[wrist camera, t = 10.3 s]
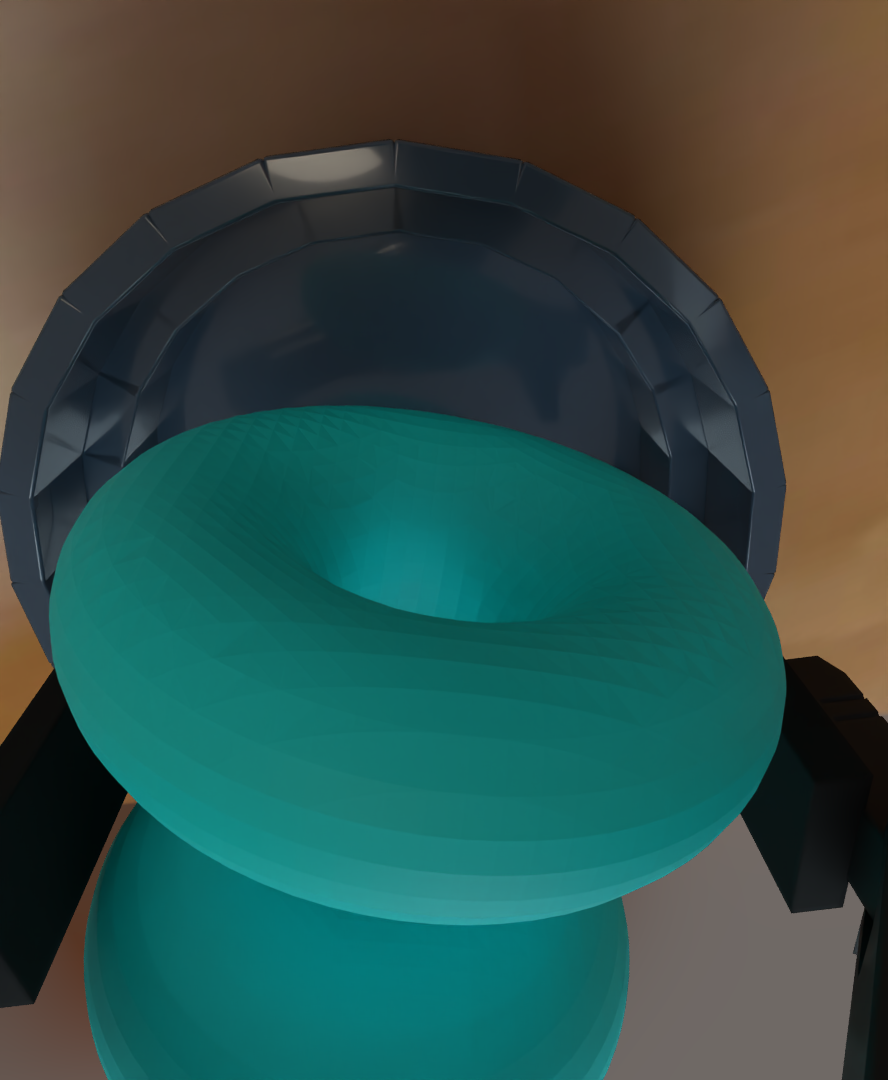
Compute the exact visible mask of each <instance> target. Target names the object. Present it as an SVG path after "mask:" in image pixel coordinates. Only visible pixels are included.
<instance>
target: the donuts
mask: <svg viewBox="0 0 888 1080" xmlns="http://www.w3.org/2000/svg"><path fill="white" fill-rule="evenodd" d="M49 625H50V638H51V648H52V657H53V662H54V666H55V670H56V674H57V677H58V681H59V684H60V686H61V688H62V691H63V693H64V696H65V698H66V701H67V703H68V705H69V708H70V710H71V713H72V715H73V717H74V719H75V721H76V723H77V726H78V728H79V730H80V731H81V733H82V735H83V736H84V738H85V740H86V741H87V743H88V745H89V746H90V748H91V749H92V751H93V752H94V754H95V755H96V756H97V757H98V759H99V760H100V761H101V763H102V764H103V765H104V766H105V768H106V769H107V770H108V771H109V773H110V774H111V775H112V776H113V777H114V778H115V779H116V780H117V781H118V782H119V783H120V784H121V785H122V787H123V788H124V789H125V790H126V791H127V792H128V793H129V794H130V795H131V796H132V797H133V798H134V799H135V800H136V801H137V804H136V805H135V807H134V808H133V809H132V811H131V812H130V814H129V816H128V817H127V819H126V820H125V822H124V823H123V825H122V826H121V828H120V830H119V832H118V834H117V835H116V837H115V839H114V841H113V843H112V845H111V847H110V849H109V851H108V853H107V856H106V858H105V861H104V863H103V866H102V869H101V871H100V874H99V878H98V881H97V884H96V888H95V891H94V895H93V899H92V903H91V908H90V912H89V916H88V922H87V928H86V936H85V948H84V982H85V991H86V999H87V1008H88V1015H89V1020H90V1025H91V1030H92V1035H93V1039H94V1042H95V1046H96V1049H97V1052H98V1056H99V1059H100V1062H101V1064H102V1067H103V1069H104V1071H105V1074H106V1076H107V1078H108V1080H603V1079H604V1077H605V1075H606V1073H607V1071H608V1068H609V1065H610V1063H611V1060H612V1058H613V1055H614V1052H615V1049H616V1046H617V1043H618V1039H619V1035H620V1032H621V1027H622V1022H623V1018H624V1012H625V1007H626V999H627V991H628V981H629V939H628V931H627V923H626V918H625V912H624V907H623V903H622V898H621V896H623V895H626V894H628V893H630V892H632V891H634V890H637V889H639V888H641V887H643V886H645V885H647V884H649V883H651V882H654V881H656V880H658V879H660V878H662V877H664V876H665V875H667V874H669V873H671V872H672V871H674V870H676V869H677V868H679V867H680V866H682V865H684V864H685V863H687V862H688V861H690V860H691V859H692V858H694V857H695V856H696V855H697V854H699V853H700V852H701V851H702V850H703V849H705V848H706V847H707V846H708V845H709V844H710V843H711V842H712V841H713V840H714V839H715V838H716V837H717V836H718V835H719V834H720V833H721V832H722V831H723V830H724V829H725V828H726V827H727V826H728V825H729V824H730V823H731V822H732V821H733V820H734V819H735V818H736V817H737V816H738V815H739V814H740V813H741V812H742V810H743V809H744V808H745V806H746V805H747V803H748V802H749V800H750V799H751V798H752V796H753V795H754V793H755V792H756V790H757V788H758V786H759V784H760V782H761V780H762V778H763V776H764V774H765V772H766V770H767V768H768V766H769V764H770V762H771V760H772V757H773V755H774V753H775V751H776V748H777V745H778V741H779V737H780V734H781V728H782V721H783V714H784V707H785V699H786V674H785V666H784V661H783V655H782V649H781V644H780V639H779V635H778V632H777V628H776V625H775V623H774V620H773V618H772V616H771V613H770V611H769V609H768V607H767V605H766V603H765V601H764V599H763V597H762V596H761V594H760V592H759V590H758V588H757V587H756V585H755V583H754V581H753V580H752V578H751V577H750V575H749V574H748V572H747V571H746V569H745V568H744V566H743V565H742V564H741V562H740V561H739V560H738V559H737V557H736V556H735V555H734V554H733V552H732V551H731V550H730V549H729V548H728V547H727V546H726V545H725V544H724V543H723V542H722V541H721V540H720V539H719V538H718V537H717V536H716V535H715V534H714V533H713V532H711V531H710V530H709V529H708V528H707V527H706V526H705V525H703V524H702V523H701V522H700V521H699V520H698V519H697V518H695V517H694V516H693V515H692V514H691V513H689V512H688V511H687V510H685V509H684V508H683V507H681V506H680V505H678V504H677V503H675V502H674V501H672V500H671V499H670V498H668V497H667V496H665V495H664V494H662V493H661V492H659V491H657V490H656V489H654V488H652V487H650V486H649V485H647V484H645V483H644V482H642V481H640V480H638V479H637V478H635V477H633V476H631V475H630V474H628V473H626V472H624V471H621V470H619V469H617V468H615V467H613V466H611V465H609V464H607V463H605V462H603V461H600V460H598V459H596V458H593V457H591V456H589V455H587V454H584V453H582V452H579V451H576V450H573V449H571V448H568V447H565V446H563V445H560V444H557V443H554V442H552V441H549V440H546V439H543V438H540V437H537V436H533V435H530V434H527V433H523V432H520V431H516V430H513V429H510V428H506V427H502V426H497V425H493V424H489V423H484V422H479V421H475V420H470V419H465V418H460V417H456V416H450V415H444V414H438V413H432V412H425V411H417V410H407V409H396V408H386V407H373V406H350V405H345V406H306V407H296V408H282V409H276V410H270V411H260V412H255V413H250V414H245V415H238V416H234V417H231V418H227V419H224V420H220V421H215V422H211V423H208V424H205V425H202V426H199V427H197V428H194V429H191V430H188V431H185V432H183V433H181V434H178V435H176V436H174V437H172V438H170V439H168V440H166V441H164V442H162V443H160V444H158V445H156V446H154V447H152V448H151V449H149V450H147V451H146V452H144V453H142V454H141V455H140V456H138V457H137V458H136V459H134V460H133V461H132V462H131V463H129V464H128V465H127V466H126V467H124V468H123V469H122V470H121V471H119V472H118V473H117V474H116V475H114V476H113V477H112V478H111V479H109V480H108V481H107V482H106V483H105V484H104V485H103V486H102V487H101V488H100V489H99V490H98V491H97V492H96V493H95V495H94V496H93V497H92V498H91V499H90V501H89V502H88V503H87V505H86V506H85V508H84V510H83V511H82V513H81V514H80V516H79V517H78V519H77V521H76V522H75V524H74V526H73V527H72V529H71V531H70V532H69V534H68V536H67V538H66V540H65V542H64V544H63V547H62V550H61V553H60V556H59V559H58V562H57V566H56V570H55V575H54V579H53V583H52V588H51V594H50V601H49Z"/></svg>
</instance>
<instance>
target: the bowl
mask: <svg viewBox="0 0 888 1080" xmlns="http://www.w3.org/2000/svg"><path fill="white" fill-rule="evenodd" d="M11 391H12V392H11V393H10V398H9V405H8V412H7V418H6V425H5V432H4V438H3V445H2V452H1V458H0V519H1V525H2V531H3V537H4V543H5V549H6V555H7V561H8V567H9V573H10V579H11V581H12V584H11V585H12V587H13V589H14V591H15V593H16V595H17V597H18V599H19V601H20V604H21V606H22V608H23V610H24V612H25V614H26V616H27V618H28V620H29V622H30V624H31V626H32V628H33V630H34V632H35V634H36V636H37V638H38V641H39V643H40V645H41V647H42V649H43V651H44V653H45V655H46V657H47V659H48V661H49V663H51V665H52V666H53V668H55V666H54V662H53V657H52V648H51V638H50V625H49V601H50V594H51V588H52V583H53V579H54V575H55V570H56V566H57V562H58V559H59V556H60V553H61V550H62V547H63V544H64V542H65V540H66V538H67V536H68V534H69V532H70V531H71V529H72V527H73V526H74V524H75V522H76V521H77V519H78V517H79V516H80V514H81V513H82V511H83V510H84V508H85V506H86V505H87V503H88V502H89V501H90V499H91V498H92V497H93V496H94V495H95V493H96V492H97V491H98V490H99V489H100V488H101V487H102V486H103V485H104V484H105V483H106V482H107V481H108V480H109V479H111V478H112V477H113V476H114V475H116V474H117V473H118V472H119V471H121V470H122V469H123V468H124V467H126V466H127V465H128V464H129V463H131V462H132V461H133V460H134V459H136V458H137V457H138V456H140V455H141V454H142V453H144V452H146V451H147V450H149V449H151V448H152V447H154V446H156V445H158V444H160V443H162V442H164V441H166V440H168V439H170V438H172V437H174V436H176V435H178V434H181V433H183V432H185V431H188V430H191V429H194V428H197V427H199V426H202V425H205V424H208V423H211V422H215V421H220V420H224V419H227V418H231V417H234V416H238V415H245V414H250V413H255V412H260V411H270V410H276V409H282V408H296V407H306V406H345V405H350V406H373V407H386V408H396V409H407V410H417V411H425V412H432V413H438V414H444V415H450V416H456V417H460V418H465V419H470V420H475V421H479V422H484V423H489V424H493V425H497V426H502V427H506V428H510V429H513V430H516V431H520V432H523V433H527V434H530V435H533V436H537V437H540V438H543V439H546V440H549V441H552V442H554V443H557V444H560V445H563V446H565V447H568V448H571V449H573V450H576V451H579V452H582V453H584V454H587V455H589V456H591V457H593V458H596V459H598V460H600V461H603V462H605V463H607V464H609V465H611V466H613V467H615V468H617V469H619V470H621V471H624V472H626V473H628V474H630V475H631V476H633V477H635V478H637V479H638V480H640V481H642V482H644V483H645V484H647V485H649V486H650V487H652V488H654V489H656V490H657V491H659V492H661V493H662V494H664V495H665V496H667V497H668V498H670V499H671V500H672V501H674V502H675V503H677V504H678V505H680V506H681V507H683V508H684V509H685V510H687V511H688V512H689V513H691V514H692V515H693V516H694V517H695V518H697V519H698V520H699V521H700V522H701V523H702V524H703V525H705V526H706V527H707V528H708V529H709V530H710V531H711V532H713V533H714V534H715V535H716V536H717V537H718V538H719V539H720V540H721V541H722V542H723V543H724V544H725V545H726V546H727V547H728V548H729V549H730V550H731V551H732V552H733V554H734V555H735V556H736V557H737V559H738V560H739V561H740V562H741V564H742V565H743V566H744V568H745V569H746V571H747V572H748V574H749V575H750V577H751V578H752V580H753V581H754V583H755V585H756V587H757V588H758V590H759V592H760V594H761V596H762V597H763V599H765V596H766V594H767V591H768V589H769V587H770V584H771V582H772V579H773V577H774V573H775V572H776V566H777V558H778V550H779V541H780V533H781V525H782V517H783V509H784V501H785V492H786V479H785V473H784V468H783V462H782V457H781V451H780V445H779V440H778V434H777V429H776V423H775V418H774V412H773V406H772V401H771V395H770V391H769V390H768V386H767V384H766V382H765V380H764V379H763V377H762V375H761V373H760V371H759V369H758V367H757V365H756V364H755V362H754V360H753V358H752V356H751V354H750V352H749V350H748V349H747V347H746V345H745V343H744V341H743V339H742V337H741V335H740V333H739V332H738V330H737V328H736V326H735V324H734V322H733V320H732V318H731V317H730V315H729V313H728V311H727V309H726V307H725V305H724V303H723V302H722V300H721V299H720V298H718V295H717V293H715V292H714V291H713V290H712V289H711V288H710V287H709V286H708V285H707V284H706V283H705V282H704V281H703V280H702V279H701V278H700V277H699V276H698V275H697V274H696V273H695V272H694V271H693V270H692V269H691V268H690V267H689V266H688V265H687V264H686V263H685V262H683V261H682V260H681V259H680V258H679V257H678V256H677V255H676V254H675V253H674V252H673V251H672V250H671V249H670V248H669V247H668V246H667V245H666V244H665V243H664V242H663V241H662V240H661V239H660V238H659V237H658V236H657V235H656V234H655V233H654V232H653V231H651V230H650V229H649V228H648V227H647V226H646V225H645V224H644V223H643V222H642V221H641V220H640V219H638V218H635V216H634V215H633V214H631V213H629V212H627V211H625V210H623V209H621V208H619V207H617V206H615V205H613V204H611V203H609V202H607V201H605V200H603V199H601V198H599V197H597V196H595V195H593V194H591V193H589V192H587V191H585V190H583V189H581V188H579V187H577V186H575V185H573V184H571V183H569V182H567V181H565V180H563V179H561V178H559V177H557V176H555V175H553V174H551V173H549V172H547V171H545V170H543V169H541V168H539V167H537V166H535V165H533V164H531V163H529V162H523V161H522V160H520V159H515V158H509V157H503V156H497V155H491V154H485V153H479V152H473V151H467V150H460V149H454V148H448V147H442V146H436V145H430V144H424V143H418V142H412V141H406V140H400V139H398V140H395V142H394V141H393V140H390V139H387V140H380V141H372V142H365V143H358V144H350V145H343V146H336V147H329V148H321V149H314V150H307V151H299V152H292V153H285V154H278V155H270V156H266V157H264V159H256V160H254V161H252V162H250V163H248V164H246V165H243V166H241V167H239V168H237V169H235V170H233V171H231V172H229V173H227V174H225V175H222V176H220V177H218V178H216V179H214V180H212V181H210V182H208V183H206V184H203V185H201V186H199V187H197V188H195V189H193V190H191V191H189V192H187V193H185V194H182V195H180V196H178V197H176V198H174V199H172V200H170V201H168V202H166V203H163V204H161V205H159V206H157V207H155V208H153V209H151V210H150V211H149V213H146V214H143V215H142V216H141V217H140V218H139V219H138V220H137V221H136V222H135V223H134V224H133V225H132V226H131V227H130V228H129V229H128V230H127V231H125V232H124V233H123V234H122V235H121V236H120V237H119V238H118V239H117V240H116V241H115V242H114V243H113V244H112V245H111V246H110V247H109V248H108V249H107V250H106V251H105V252H104V253H102V254H101V255H100V256H99V257H98V258H97V259H96V260H95V261H94V262H93V263H92V264H91V265H90V266H89V267H88V268H87V269H86V270H85V271H84V272H83V273H82V274H80V275H79V276H78V277H77V278H76V279H75V280H74V281H73V282H72V283H71V284H70V285H69V286H68V287H67V288H66V289H65V290H64V291H63V293H62V295H61V296H59V297H58V299H57V301H56V303H55V305H54V307H53V309H52V311H51V313H50V315H49V317H48V319H47V321H46V322H45V324H44V326H43V328H42V330H41V332H40V334H39V336H38V338H37V340H36V342H35V344H34V346H33V348H32V350H31V351H30V353H29V355H28V357H27V359H26V361H25V363H24V365H23V367H22V369H21V371H20V373H19V375H18V377H17V378H16V380H15V382H14V384H13V386H12V390H11Z"/></svg>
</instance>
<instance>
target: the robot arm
mask: <svg viewBox="0 0 888 1080" xmlns="http://www.w3.org/2000/svg"><path fill="white" fill-rule="evenodd" d="M783 661H784V666H785V674H786V699H785V707H784V714H783V721H782V728H781V734H780V737H779V741H778V745H777V748H776V751H775V753H774V755H773V757H772V760H771V762H770V764H769V766H768V768H767V770H766V772H765V774H764V776H763V778H762V780H761V782H760V784H759V786H758V788H757V790H756V792H755V793H754V795H753V796H752V798H751V799H750V800H749V802H748V803H747V805H746V806H745V808H744V809H743V810H742V812H741V813H740V814H741V816H742V818H743V820H744V821H745V823H746V825H747V827H748V829H749V831H750V833H751V835H752V837H753V839H754V841H755V843H756V845H757V847H758V849H759V851H760V853H761V855H762V857H763V859H764V861H765V862H766V864H767V866H768V868H769V870H770V872H771V874H772V876H773V878H774V880H775V882H776V884H777V886H778V888H779V890H780V892H781V893H782V896H783V898H784V900H785V901H786V903H787V905H788V907H789V909H790V911H791V913H798V912H807V911H815V910H824V909H832V908H841V907H843V904H844V899H845V895H846V891H847V887H848V882H849V883H850V884H851V886H852V888H853V889H854V891H855V893H856V894H857V896H858V897H859V899H860V900H861V902H862V904H863V906H864V907H865V908H864V912H863V916H862V920H861V924H860V928H859V932H858V936H857V939H856V944H855V947H854V951H853V954H856V955H857V959H856V968H855V976H854V984H853V992H852V1001H851V1009H850V1017H849V1025H848V1033H847V1042H846V1050H845V1058H844V1066H843V1074H842V1080H888V723H887V721H886V720H885V719H884V718H883V717H882V716H879V714H878V711H877V710H876V709H875V707H874V706H873V705H872V704H871V703H870V702H869V700H868V699H867V698H866V699H864V697H863V693H862V692H861V691H860V690H859V689H858V688H857V686H856V685H855V684H854V683H853V682H852V681H851V679H850V678H849V677H848V676H847V675H846V674H845V673H844V672H843V671H841V670H839V669H838V668H836V667H835V666H833V665H831V664H830V663H828V662H827V661H825V660H823V659H822V658H820V657H818V656H811V657H803V658H795V659H787V660H785V658H784V657H783ZM126 795H127V791H126V790H125V789H124V788H123V787H122V785H121V784H120V783H119V782H118V781H117V780H116V779H115V778H114V777H113V776H112V775H111V774H110V773H109V771H108V770H107V769H106V768H105V766H104V765H103V764H102V763H101V761H100V760H99V759H98V757H97V756H96V755H95V754H94V752H93V751H92V749H91V748H90V746H89V745H88V743H87V741H86V740H85V738H84V736H83V735H82V733H81V731H80V730H79V728H78V726H77V723H76V721H75V719H74V717H73V715H72V713H71V710H70V708H69V705H68V703H67V701H66V698H65V696H64V693H63V691H62V688H61V686H60V684H59V681H58V677H57V674H56V670H55V668H54V670H53V671H52V672H51V674H50V675H49V677H48V678H47V680H46V681H45V683H44V684H43V685H42V687H41V688H40V690H39V691H38V693H37V694H36V695H35V697H34V698H33V700H32V701H31V703H30V704H29V706H28V707H27V708H26V710H25V711H24V713H23V714H22V716H21V717H20V719H19V720H18V721H17V723H16V724H15V726H14V727H13V729H12V730H11V731H10V733H9V734H8V736H7V737H6V739H5V740H4V742H3V743H2V744H1V746H0V1008H4V1007H12V1006H19V1005H29V1004H34V1002H35V1000H36V998H37V996H38V994H39V991H40V989H41V987H42V985H43V982H44V980H45V978H46V976H47V973H48V971H49V969H50V967H51V964H52V962H53V960H54V957H55V955H56V953H57V950H58V948H59V946H60V944H61V942H62V939H63V937H64V935H65V933H66V930H67V928H68V926H69V924H70V921H71V919H72V917H73V915H74V912H75V910H76V908H77V905H78V903H79V901H80V899H81V896H82V894H83V892H84V889H85V887H86V885H87V883H88V881H89V878H90V876H91V873H92V871H93V869H94V867H95V865H96V862H97V860H98V858H99V855H100V853H101V851H102V848H103V847H104V844H105V842H106V840H107V838H108V835H109V833H110V831H111V828H112V826H113V824H114V822H115V819H116V817H117V815H118V812H119V810H120V808H121V806H122V804H123V801H124V799H125V797H126Z"/></svg>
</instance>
